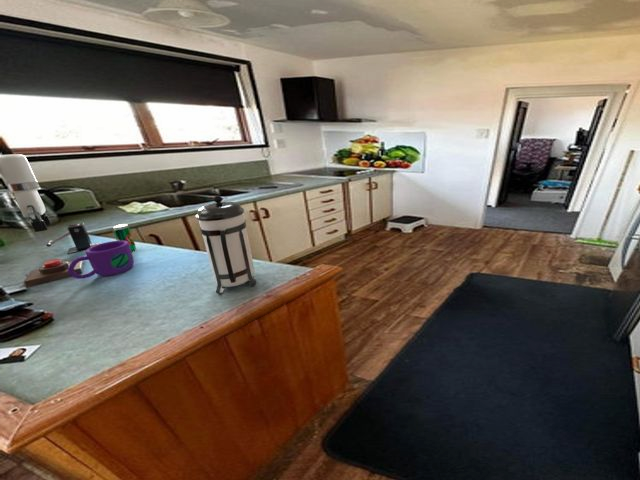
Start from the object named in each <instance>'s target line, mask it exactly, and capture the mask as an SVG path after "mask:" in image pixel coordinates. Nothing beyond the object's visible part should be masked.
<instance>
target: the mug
mask: <svg viewBox="0 0 640 480" xmlns="http://www.w3.org/2000/svg"><path fill="white" fill-rule="evenodd" d="M84 252H85V255H84V256H79V257H78V256H77V257H76V258H74V259H73V260H71V261H70V262H71V264H70V265H69V267H68V273H69V274H70V275H71V276H70V277H72V278H74V279H77V280H82V279H88V278H91V277H93V276H94V275H97V276H100V277H109V276H115V275H118V274H122V273H125V272H126V271H128V270H130V269H132V267H133V266H134V264H135V260H134V256H133V252H131V249H130V246H129V243H128V242H127V241H117V240H112V241H106V242H103V243H102V242H101V244H98V245H95V246H93V247H90V248H88V249H87V250H85V251H84ZM82 260H83V261H89V264H90V266H91V268H92V269H93V270H91V271H90V272H88V273H84V274H77V273H76V272H74V268H75V266H76V264H77V263H78V262H79V261H82Z"/></svg>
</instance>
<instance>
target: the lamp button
mask: <svg viewBox="0 0 640 480" xmlns="http://www.w3.org/2000/svg"><path fill="white" fill-rule="evenodd" d="M61 261H62V260H61V259H60V258H56V259H51V260H48V261H45V262H43V265H44V266H45V268H51V267H55V266H58V265H61V264H62V262H61Z"/></svg>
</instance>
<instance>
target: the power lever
mask: <svg viewBox="0 0 640 480" xmlns="http://www.w3.org/2000/svg"><path fill="white" fill-rule="evenodd" d="M77 224H78V223H77ZM78 225H79V224H78ZM76 226H77V225H76ZM68 236H71V234H70V232H69V231H68V232H66V233H64V234H61V235H60V236H58V237H56V238H55V239H53V240H49V241H48V242H47V243H46V247H48V248H50V247H52V245H53V244H55V243H58V242H59V241H61V240H63V239H64V238H66V237H68Z"/></svg>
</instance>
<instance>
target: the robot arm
mask: <svg viewBox="0 0 640 480" xmlns="http://www.w3.org/2000/svg"><path fill="white" fill-rule="evenodd" d="M0 175H1V177H2V179H3V181H4V183H5V185H6V186H7V189H8V191H9V193H10V194H14V197H15V201H16V203H17V206H18V208H19V210H20V212H21V215H22V217H23V218H28V219H29V221H30V224H31V226H32V229H33V230H34V232H35V233H39V232H44V231H48V226H51V225H52V222H51V219H50V217H49V216H48V215H47V212H46V211H47V210H46V206H45V204H44V202H43V200H42V198H41V195H40V193H39V192H38V191H39V190H41V189H42V188H41V186H40V184H39V182H38V180H37V177H36V176H35V173H34V171H33V169H32V166H31V165H30V162H29V161H28V159H27V157H26V156H25V155H24V154H21V153H18V154H17V153H13V154H0Z"/></svg>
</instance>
